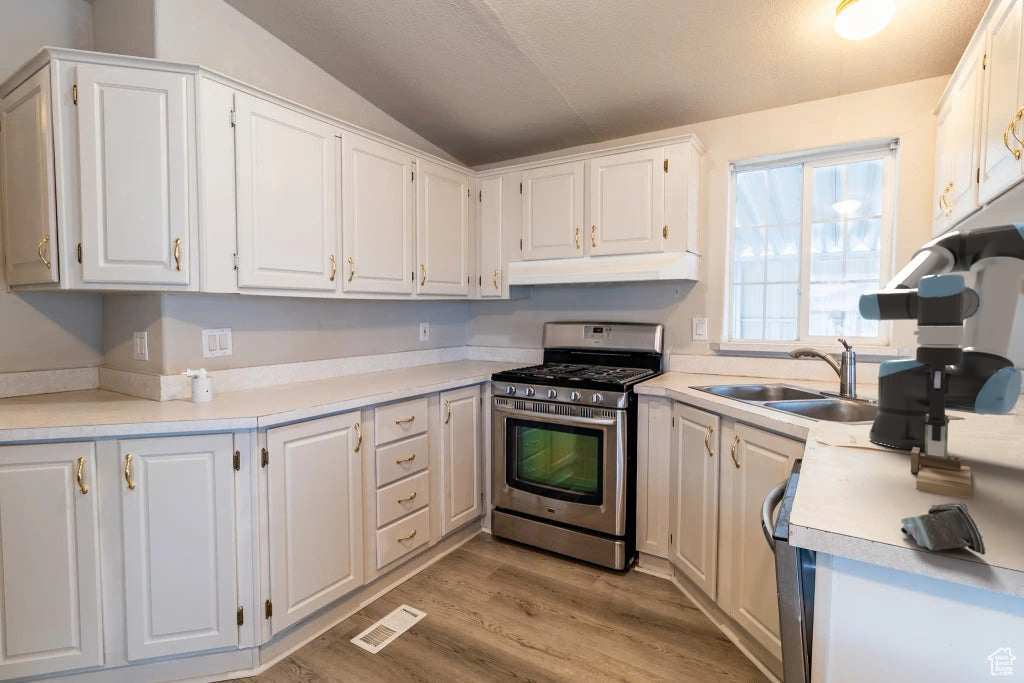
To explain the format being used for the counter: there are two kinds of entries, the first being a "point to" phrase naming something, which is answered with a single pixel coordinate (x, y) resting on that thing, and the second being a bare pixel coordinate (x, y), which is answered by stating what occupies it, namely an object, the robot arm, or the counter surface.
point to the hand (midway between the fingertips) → (936, 453)
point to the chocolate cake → (945, 528)
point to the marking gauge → (934, 460)
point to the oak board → (945, 481)
